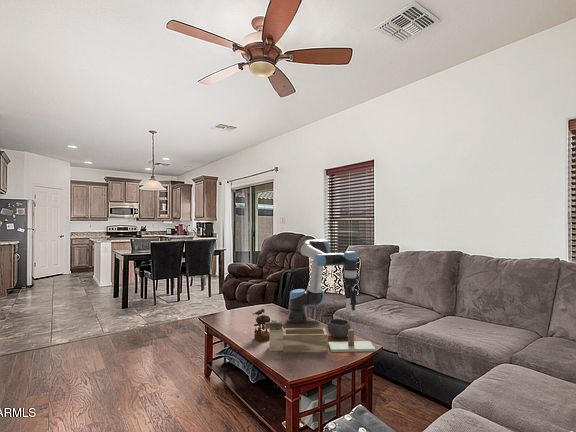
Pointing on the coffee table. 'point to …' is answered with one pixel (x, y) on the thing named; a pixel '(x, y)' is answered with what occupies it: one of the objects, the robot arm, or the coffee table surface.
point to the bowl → (338, 328)
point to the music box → (259, 334)
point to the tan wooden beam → (268, 325)
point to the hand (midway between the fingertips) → (350, 312)
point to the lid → (351, 345)
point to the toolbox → (298, 339)
